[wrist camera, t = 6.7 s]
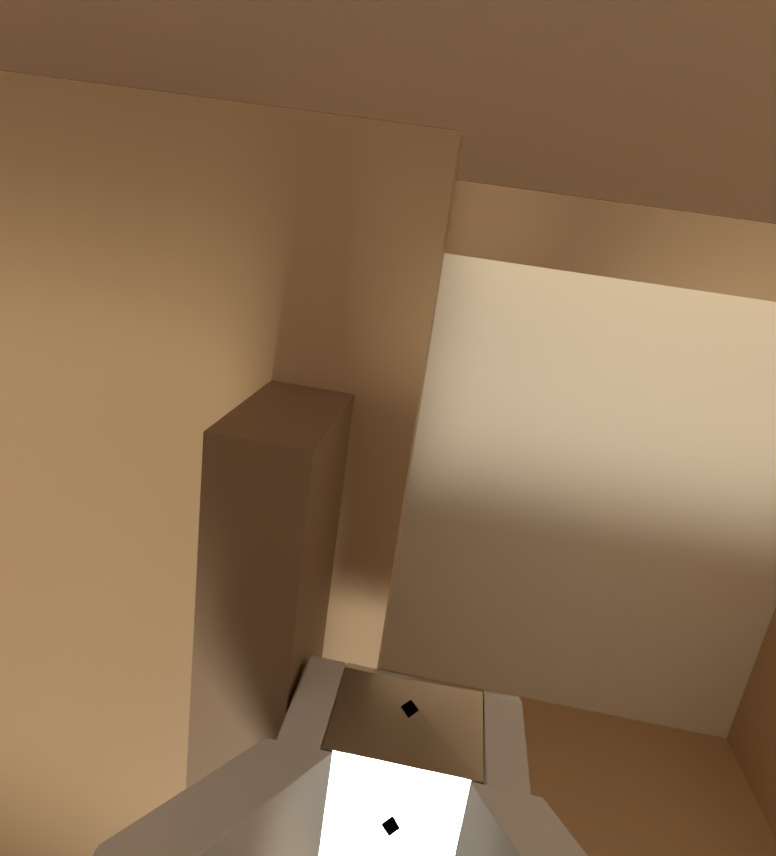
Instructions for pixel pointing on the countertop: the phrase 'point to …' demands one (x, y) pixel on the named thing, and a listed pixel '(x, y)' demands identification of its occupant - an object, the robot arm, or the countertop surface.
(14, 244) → the lid
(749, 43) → the countertop surface
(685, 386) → the box
